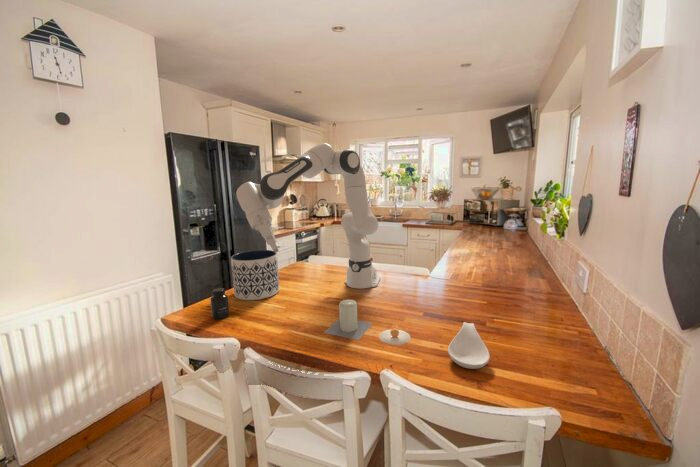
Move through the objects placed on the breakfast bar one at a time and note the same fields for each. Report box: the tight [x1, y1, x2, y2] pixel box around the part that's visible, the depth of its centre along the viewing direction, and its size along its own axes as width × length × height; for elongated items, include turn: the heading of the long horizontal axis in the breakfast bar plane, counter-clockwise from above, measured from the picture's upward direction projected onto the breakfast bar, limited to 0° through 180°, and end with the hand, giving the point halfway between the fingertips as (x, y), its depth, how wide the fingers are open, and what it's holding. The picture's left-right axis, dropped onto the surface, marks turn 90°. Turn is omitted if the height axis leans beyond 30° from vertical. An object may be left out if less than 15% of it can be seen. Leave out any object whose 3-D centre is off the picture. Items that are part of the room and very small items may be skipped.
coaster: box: [378, 328, 412, 346], centre depth 108 cm, size 11×11×1 cm
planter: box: [230, 249, 280, 301], centre depth 156 cm, size 22×22×20 cm
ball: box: [390, 327, 399, 337], centre depth 107 cm, size 3×3×3 cm
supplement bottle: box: [209, 287, 230, 320], centre depth 129 cm, size 7×7×12 cm
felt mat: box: [323, 317, 373, 341], centre depth 115 cm, size 14×14×1 cm
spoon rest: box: [447, 321, 491, 370], centre depth 97 cm, size 24×12×7 cm, turn 160°
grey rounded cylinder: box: [338, 299, 358, 332], centre depth 114 cm, size 6×6×10 cm
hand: (275, 250), depth 121 cm, fingers open, 8 cm apart
